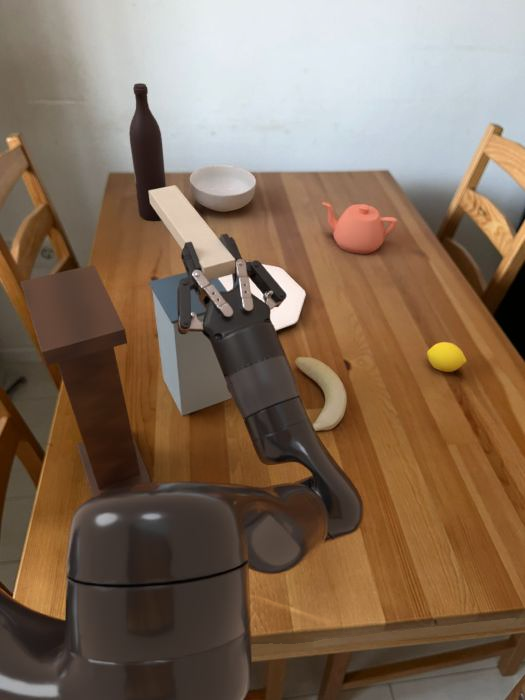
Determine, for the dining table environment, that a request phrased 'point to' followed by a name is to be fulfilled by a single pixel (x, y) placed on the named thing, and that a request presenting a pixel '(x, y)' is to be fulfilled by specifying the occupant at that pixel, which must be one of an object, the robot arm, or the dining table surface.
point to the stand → (88, 370)
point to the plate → (288, 308)
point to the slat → (192, 231)
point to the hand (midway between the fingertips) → (204, 241)
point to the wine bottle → (146, 153)
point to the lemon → (446, 357)
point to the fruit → (325, 392)
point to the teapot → (359, 228)
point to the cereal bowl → (222, 187)
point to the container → (186, 350)
